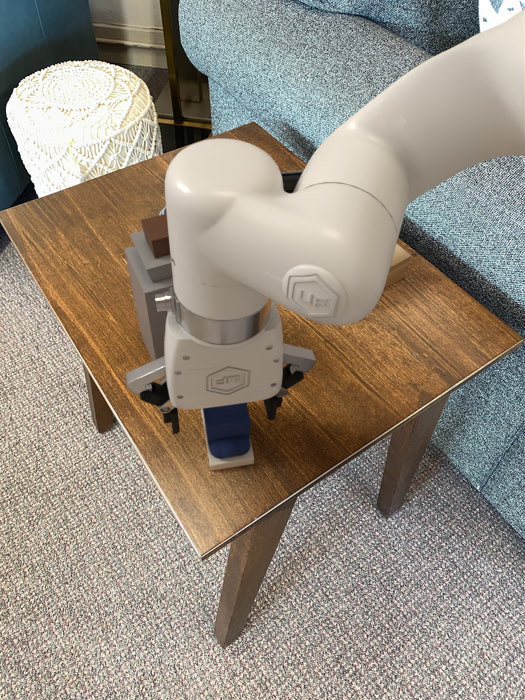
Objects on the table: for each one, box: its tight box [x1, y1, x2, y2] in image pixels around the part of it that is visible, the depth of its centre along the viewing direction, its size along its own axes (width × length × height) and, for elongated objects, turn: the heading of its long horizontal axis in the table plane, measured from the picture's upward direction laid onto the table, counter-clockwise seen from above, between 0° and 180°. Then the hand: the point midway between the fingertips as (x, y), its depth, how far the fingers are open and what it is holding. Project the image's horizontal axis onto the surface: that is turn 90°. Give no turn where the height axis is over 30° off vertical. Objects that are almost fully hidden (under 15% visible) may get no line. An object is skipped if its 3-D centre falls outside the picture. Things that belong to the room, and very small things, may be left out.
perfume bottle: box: [123, 214, 173, 362], centre depth 60 cm, size 7×7×18 cm
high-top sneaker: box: [200, 402, 255, 471], centre depth 58 cm, size 8×4×6 cm, turn 11°
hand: (222, 414), depth 58 cm, fingers open, 9 cm apart
